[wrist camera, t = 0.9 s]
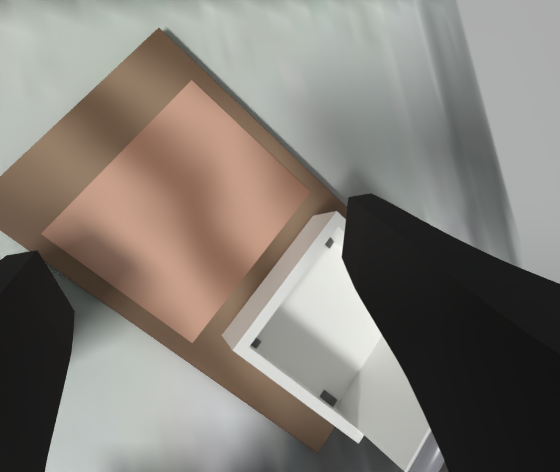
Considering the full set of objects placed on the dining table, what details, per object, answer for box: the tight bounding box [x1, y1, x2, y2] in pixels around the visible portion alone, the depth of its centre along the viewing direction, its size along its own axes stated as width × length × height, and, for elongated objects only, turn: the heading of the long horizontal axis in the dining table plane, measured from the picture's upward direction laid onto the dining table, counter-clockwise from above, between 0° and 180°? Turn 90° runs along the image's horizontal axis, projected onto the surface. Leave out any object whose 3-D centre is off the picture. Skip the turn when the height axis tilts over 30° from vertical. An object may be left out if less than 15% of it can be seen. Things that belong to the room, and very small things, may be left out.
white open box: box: [222, 211, 444, 472], centre depth 19 cm, size 9×10×8 cm
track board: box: [0, 28, 347, 453], centre depth 22 cm, size 14×24×1 cm, turn 49°
